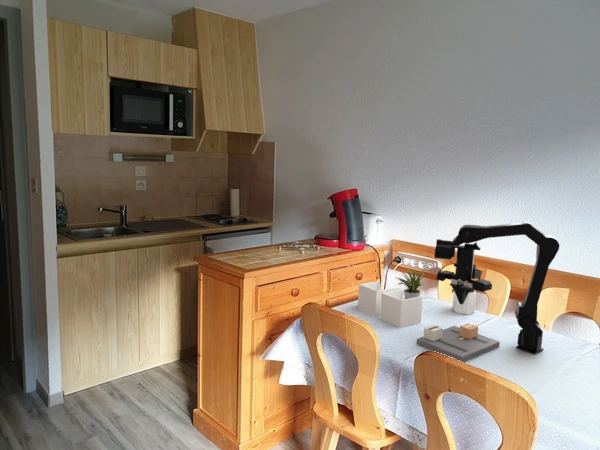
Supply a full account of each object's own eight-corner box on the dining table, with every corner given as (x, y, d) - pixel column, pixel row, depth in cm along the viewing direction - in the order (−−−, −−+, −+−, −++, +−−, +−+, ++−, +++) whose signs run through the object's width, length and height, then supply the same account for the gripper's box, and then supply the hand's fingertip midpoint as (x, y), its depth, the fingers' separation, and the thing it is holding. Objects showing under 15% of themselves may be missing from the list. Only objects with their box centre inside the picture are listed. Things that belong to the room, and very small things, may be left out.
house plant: (409, 297, 215) (411, 262, 213) (435, 304, 205) (437, 268, 202) (389, 302, 206) (391, 266, 204) (415, 311, 195) (417, 273, 193)
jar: (450, 312, 195) (452, 284, 193) (454, 307, 202) (456, 280, 200) (472, 316, 191) (474, 288, 189) (475, 310, 198) (478, 283, 196)
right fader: (477, 336, 163) (478, 326, 163) (469, 339, 160) (470, 329, 160) (467, 332, 167) (468, 322, 166) (459, 335, 164) (460, 325, 163)
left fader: (442, 338, 161) (442, 327, 160) (433, 341, 158) (433, 330, 157) (432, 334, 164) (433, 324, 164) (423, 337, 161) (424, 327, 160)
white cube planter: (357, 309, 196) (358, 284, 195) (377, 305, 202) (378, 281, 201) (400, 328, 176) (401, 300, 174) (420, 323, 182) (422, 296, 180)
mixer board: (499, 347, 160) (499, 341, 160) (462, 363, 147) (462, 356, 146) (453, 330, 174) (454, 325, 174) (416, 344, 161) (416, 338, 160)
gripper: (502, 263, 160) (498, 307, 162) (455, 253, 175) (452, 293, 177) (484, 267, 153) (480, 313, 156) (437, 257, 168) (434, 298, 170)
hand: (461, 304), depth 165 cm, fingers closed
